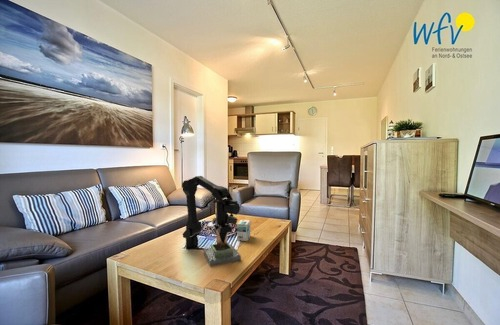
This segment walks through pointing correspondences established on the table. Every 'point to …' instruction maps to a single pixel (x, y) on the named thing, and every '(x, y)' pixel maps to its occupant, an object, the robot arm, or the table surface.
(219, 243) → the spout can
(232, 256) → the gearbox housing
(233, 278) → the table surface
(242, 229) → the light bulb box
